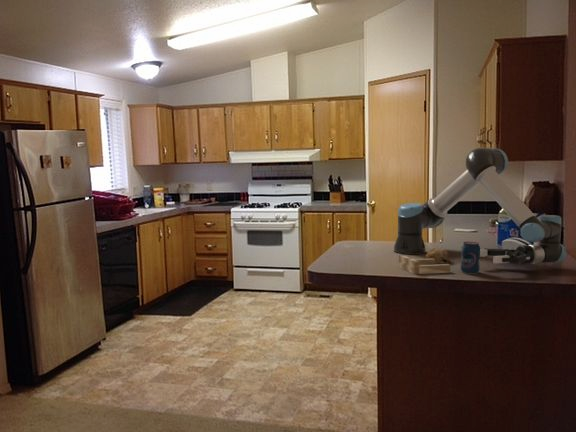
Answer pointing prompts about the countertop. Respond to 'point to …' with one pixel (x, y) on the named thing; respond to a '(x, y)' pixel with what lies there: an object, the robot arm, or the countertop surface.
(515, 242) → the white napkin holder
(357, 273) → the countertop surface
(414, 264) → the u bracket
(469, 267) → the soda can
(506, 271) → the countertop surface
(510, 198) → the robot arm
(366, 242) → the countertop surface
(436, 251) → the bread roll
